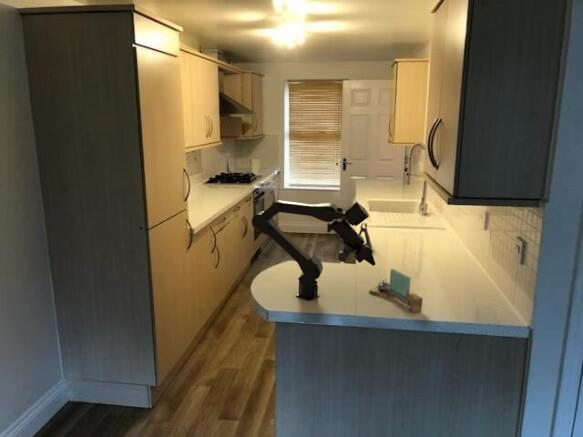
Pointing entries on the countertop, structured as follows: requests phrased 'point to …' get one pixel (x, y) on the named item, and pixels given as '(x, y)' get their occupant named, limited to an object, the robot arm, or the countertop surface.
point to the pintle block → (379, 292)
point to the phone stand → (365, 234)
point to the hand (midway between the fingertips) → (374, 264)
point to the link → (396, 286)
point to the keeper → (414, 303)
